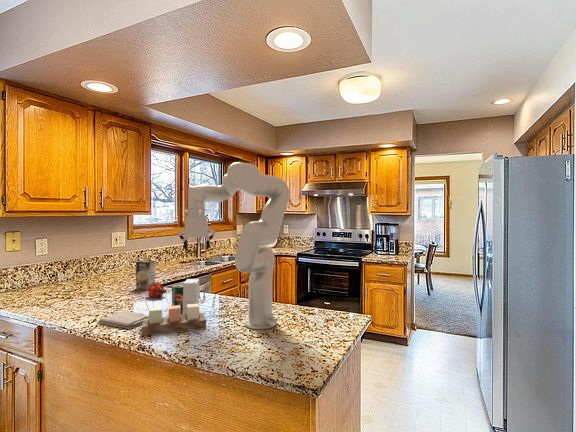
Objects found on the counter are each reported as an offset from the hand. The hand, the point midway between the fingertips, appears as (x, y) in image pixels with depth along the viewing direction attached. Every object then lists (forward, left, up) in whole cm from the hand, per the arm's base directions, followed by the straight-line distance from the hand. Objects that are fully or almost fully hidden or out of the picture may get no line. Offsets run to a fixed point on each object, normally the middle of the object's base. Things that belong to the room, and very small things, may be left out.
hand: (196, 249), depth 154 cm
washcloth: (+3, +30, -29) cm, 42 cm away
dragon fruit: (+35, +5, -28) cm, 45 cm away
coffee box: (+61, +2, -28) cm, 67 cm away
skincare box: (-5, +5, -28) cm, 29 cm away
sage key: (-14, +25, -25) cm, 38 cm away
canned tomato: (+6, +5, -28) cm, 29 cm away
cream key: (-20, +12, -25) cm, 34 cm away
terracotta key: (-17, +18, -25) cm, 35 cm away
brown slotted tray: (-17, +18, -28) cm, 37 cm away
